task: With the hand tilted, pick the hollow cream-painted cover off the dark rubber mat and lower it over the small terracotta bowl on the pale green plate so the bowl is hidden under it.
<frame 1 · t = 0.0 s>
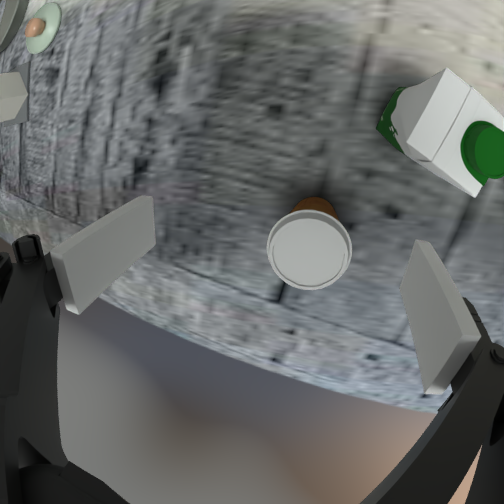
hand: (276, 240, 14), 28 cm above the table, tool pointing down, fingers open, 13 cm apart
cover: (16, 95, 43), point 1 cm above the table, touching mat
disposable coffee cup: (314, 217, 42), on the table
bowl: (41, 27, 35), resting on plate
milk carton: (408, 121, 33), on the table
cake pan: (8, 16, 34), on the table
plate: (43, 28, 35), on the table
mat: (16, 95, 44), on the table
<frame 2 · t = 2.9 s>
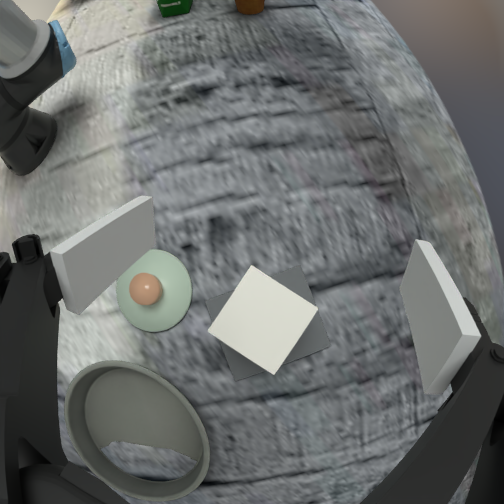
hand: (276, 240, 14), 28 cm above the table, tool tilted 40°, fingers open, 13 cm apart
cover: (265, 317, 40), point 1 cm above the table, touching mat
disposable coffee cup: (250, 9, 54), on the table
bowl: (151, 290, 41), resting on plate
milk carton: (178, 9, 56), on the table
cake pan: (140, 429, 39), on the table
plate: (153, 290, 42), on the table
mat: (267, 324, 40), on the table
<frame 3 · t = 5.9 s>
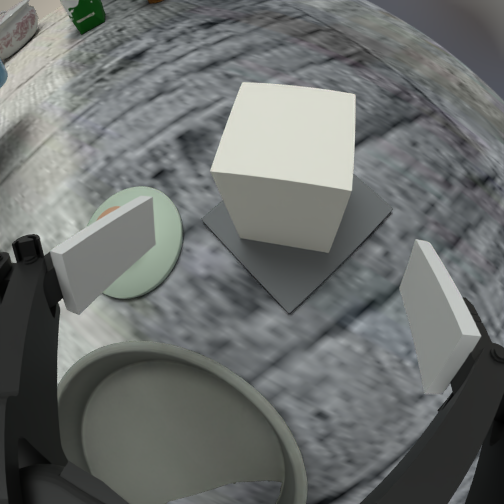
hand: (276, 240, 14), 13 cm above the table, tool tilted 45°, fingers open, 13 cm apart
cover: (291, 205, 28), point 1 cm above the table, touching mat
milk carton: (93, 24, 52), on the table
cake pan: (172, 463, 22), on the table
plate: (129, 241, 29), on the table
mat: (299, 214, 28), on the table
chamber pot: (20, 45, 65), on the table
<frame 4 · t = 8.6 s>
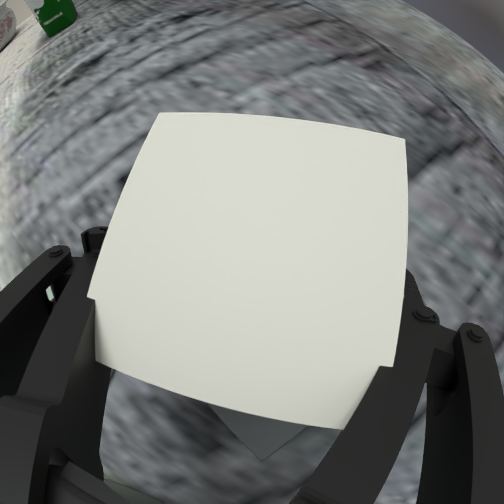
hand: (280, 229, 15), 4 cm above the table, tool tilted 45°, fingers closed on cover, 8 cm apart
cover: (271, 304, 18), point 1 cm above the table, touching gripper, mat
milk carton: (64, 26, 43), on the table
mat: (283, 317, 18), on the table
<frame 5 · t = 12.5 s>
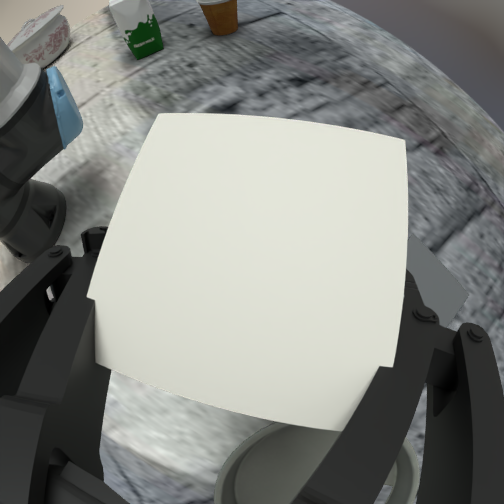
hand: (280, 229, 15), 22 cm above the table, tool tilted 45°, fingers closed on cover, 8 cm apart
cover: (271, 304, 18), point 19 cm above the table, touching gripper
disposable coffee cup: (225, 30, 57), on the table
milk carton: (149, 49, 58), on the table
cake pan: (317, 487, 28), on the table
mat: (412, 302, 34), on the table
chamber pot: (50, 58, 71), on the table
when the fingers open (6 cm above the table, at t = 16.4 s): cover drops 2 cm, resting on plate.
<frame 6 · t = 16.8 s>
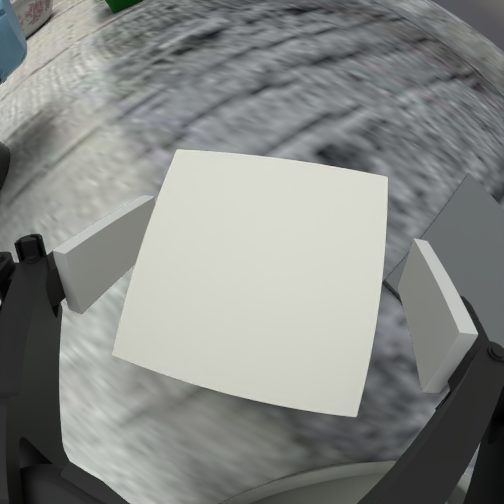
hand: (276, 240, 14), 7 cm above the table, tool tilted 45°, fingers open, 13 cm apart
cover: (273, 309, 20), point 1 cm above the table, touching plate
milk carton: (128, 3, 44), on the table
mat: (479, 272, 19), on the table
chamber pot: (31, 31, 57), on the table
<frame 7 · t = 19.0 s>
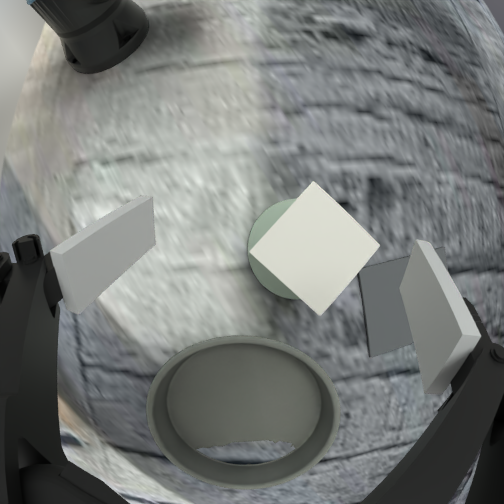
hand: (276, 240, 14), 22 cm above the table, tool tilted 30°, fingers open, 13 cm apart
cover: (298, 249, 35), point 1 cm above the table, touching plate
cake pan: (243, 410, 37), on the table
plate: (297, 249, 36), on the table
mat: (409, 300, 36), on the table
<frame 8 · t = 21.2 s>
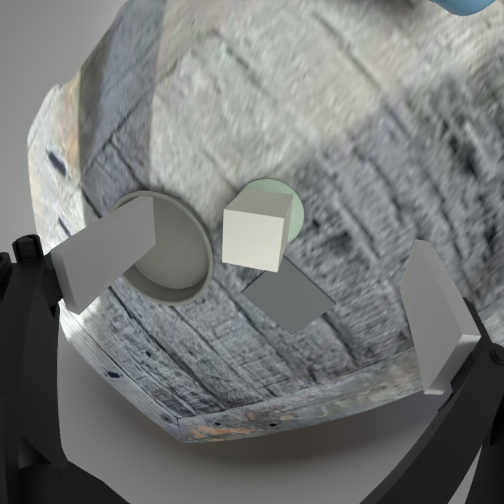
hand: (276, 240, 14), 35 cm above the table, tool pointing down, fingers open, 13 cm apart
cover: (267, 214, 50), point 1 cm above the table, touching plate
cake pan: (164, 243, 59), on the table
plate: (268, 212, 51), on the table
mat: (288, 297, 57), on the table
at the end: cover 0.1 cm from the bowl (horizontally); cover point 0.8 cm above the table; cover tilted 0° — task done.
